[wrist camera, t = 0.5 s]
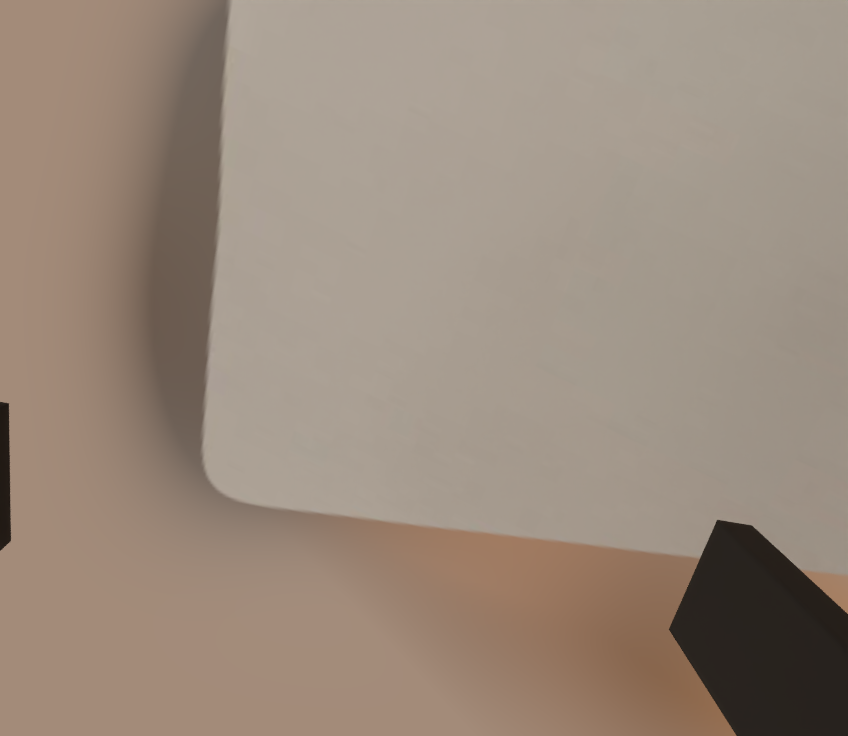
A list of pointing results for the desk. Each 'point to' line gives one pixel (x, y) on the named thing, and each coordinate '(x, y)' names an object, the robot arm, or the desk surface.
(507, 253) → the desk surface
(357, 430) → the desk surface
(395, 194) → the desk surface
